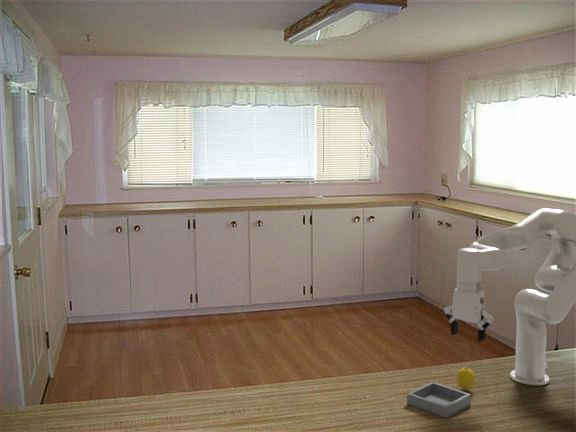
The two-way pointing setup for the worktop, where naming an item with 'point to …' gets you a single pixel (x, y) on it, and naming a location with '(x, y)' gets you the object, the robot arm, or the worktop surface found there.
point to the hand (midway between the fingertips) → (467, 337)
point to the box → (439, 399)
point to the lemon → (466, 378)
